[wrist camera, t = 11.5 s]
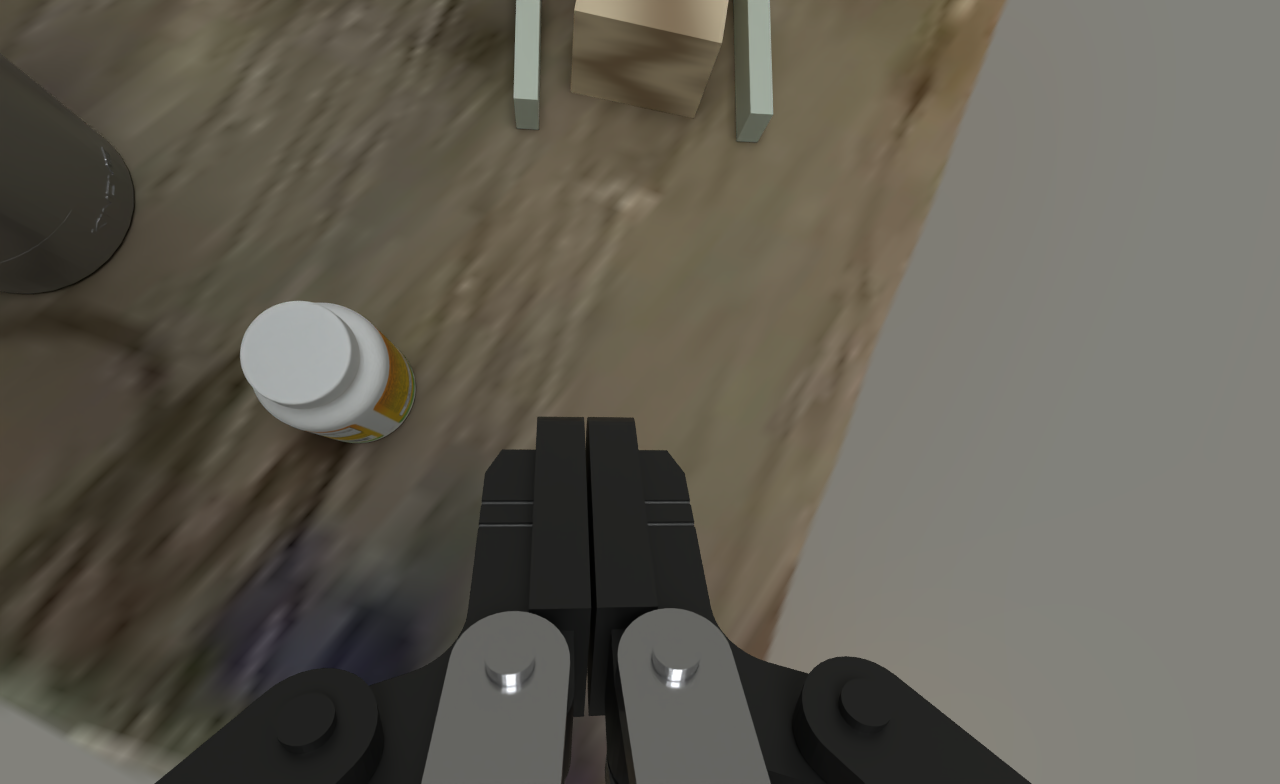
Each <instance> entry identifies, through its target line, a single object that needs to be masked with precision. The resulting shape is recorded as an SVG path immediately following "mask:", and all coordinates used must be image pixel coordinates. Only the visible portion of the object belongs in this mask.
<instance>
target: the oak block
mask: <svg viewBox="0 0 1280 784" xmlns="http://www.w3.org/2000/svg"><path fill="white" fill-rule="evenodd" d="M728 1H729V0H576V4H575V9H574V29H573V50H572V72H571V93H576V94H581V95H585V96H590V97H595V98H600V99H604V100H609V101H614V102H618V103H623V104H628V105H632V106H637V107H642V108H646V109H651V110H656V111H661V112H665V113H670V114H675V115H679V116H684V117H689V118H693V119H694V117H695V115H696V112H697V109H698V106H699V104H700V101H701V98H702V96H703V93H704V90H705V88H706V85H707V82H708V80H709V77H710V74H711V71H712V69H713V66H714V63H715V61H716V58H717V55H718V53H719V50H720V47H721V44H722V40H723V33H724V27H725V20H726V14H727V7H728Z"/></svg>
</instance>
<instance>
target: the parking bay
mask: <svg viewBox="0 0 1280 784" xmlns="http://www.w3.org/2000/svg"><path fill="white" fill-rule="evenodd" d="M541 3H542V0H516V29H515V66H514V107H515V118H516V128H519V129H536V130H539V99H540V51H541ZM733 7H734V52H735V98H736V141H743V142H758V140H759V138H760V137H761V135H762V133H763V131H764V130H765V128H766V126H767V124H768V123H769V121H770V119H771V117H772V116H773V95H772V62H771V29H770V0H733Z"/></svg>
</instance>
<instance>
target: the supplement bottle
mask: <svg viewBox="0 0 1280 784" xmlns="http://www.w3.org/2000/svg"><path fill="white" fill-rule="evenodd" d="M240 361H241V366H242V370H243V372H244V375H245V377H246V379H247V380H248V382H249V383H250V385H251V386H252V387H253V389H254V392H255V394H256V396H257V398H258V399H259V401H260V402H261V404H262V405H263V406H264V407H265V409H266V410H267V411H268V412H269V413H271V414H272V415H273V416H274V417H276V418H277V419H279V420H280V421H282V422H284V423H286V424H288V425H290V426H292V427H294V428H297V429H300V430H303V431H307V432H311V433H314V434H318V435H321V436H325V437H328V438H332V439H335V440H339V441H343V442H349V443H366V442H371V441H375V440H378V439H381V438H383V437H385V436H387V435H389V434H390V433H392V432H393V431H394V430H396V429H397V428H398V427H399V426H400V425H401V424H402V423H403V422H404V420H405V419H406V417H407V416H408V414H409V412H410V410H411V408H412V405H413V402H414V398H415V392H416V385H415V378H414V374H413V371H412V368H411V366H410V364H409V363H408V361H407V359H406V358H405V357H404V355H403V354H402V353H401V352H400V351H399V350H398V349H397V348H396V347H395V346H394V345H393V344H392V343H391V342H390V341H389V340H388V339H387V338H386V337H385V336H384V335H383V334H382V333H381V332H380V331H379V330H378V329H377V328H376V327H375V326H374V325H373V324H372V323H371V322H369V321H368V320H367V319H366V318H364V317H363V316H362V315H360V314H358V313H357V312H355V311H353V310H351V309H349V308H346V307H344V306H341V305H337V304H332V303H312V302H308V301H290V302H284V303H280V304H277V305H275V306H273V307H271V308H269V309H267V310H265V311H264V312H262V313H261V314H260V315H259V316H258V317H257V318H256V319H255V320H254V321H253V322H252V323H251V324H250V326H249V327H248V329H247V331H246V332H245V335H244V337H243V340H242V344H241V350H240Z"/></svg>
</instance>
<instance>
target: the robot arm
mask: <svg viewBox="0 0 1280 784" xmlns="http://www.w3.org/2000/svg"><path fill="white" fill-rule="evenodd" d="M133 208H134V195H133V186H132V182H131V178H130V174H129V171H128V169H127V167H126V165H125V163H124V161H123V160H122V158H121V156H120V154H119V153H118V152H117V151H116V150H115V149H114V148H113V147H112V145H111V144H110V143H109V142H108V141H107V140H106V139H104V138H103V137H102V136H101V135H100V134H98V133H97V132H96V131H95V130H93V129H92V128H91V127H90V126H88V125H87V124H86V123H85V122H84V121H82V120H81V119H80V118H79V117H77V116H76V115H75V114H74V113H72V112H71V111H70V110H69V109H68V108H66V107H65V106H64V105H63V104H61V103H60V102H59V101H58V100H57V99H56V98H55V97H53V96H52V95H51V94H50V93H48V92H47V91H46V90H45V89H44V88H42V87H41V86H40V85H39V84H37V83H36V82H35V81H34V80H32V79H31V78H30V77H29V76H28V75H26V74H25V73H24V72H23V71H21V70H20V69H19V68H18V67H17V66H15V65H14V64H13V63H12V62H10V61H9V60H8V59H7V58H5V57H4V56H3V55H2V54H1V53H0V291H3V292H7V293H22V294H34V293H40V292H47V291H53V290H56V289H59V288H62V287H65V286H68V285H71V284H74V283H76V282H77V281H79V280H81V279H83V278H84V277H86V276H88V275H90V274H92V273H93V272H94V271H95V270H97V269H98V268H99V267H100V266H101V265H102V264H104V263H105V262H106V261H107V260H108V259H109V258H110V257H111V256H112V254H113V253H114V252H115V250H116V249H117V248H118V247H119V245H120V244H121V242H122V240H123V238H124V236H125V234H126V232H127V230H128V228H129V226H130V221H131V217H132V213H133ZM587 675H588V708H589V716H600V715H605V719H606V739H607V755H606V764H605V781H606V784H1031V783H1030V782H1029V781H1027V780H1026V779H1025V778H1024V777H1023V776H1021V775H1020V774H1019V773H1017V772H1016V771H1015V770H1014V769H1013V768H1011V767H1010V766H1009V765H1007V764H1006V763H1005V762H1004V761H1002V760H1001V759H1000V758H999V757H997V756H996V755H995V754H994V753H992V752H991V751H990V750H989V749H987V748H986V747H985V746H984V745H982V744H981V743H980V742H978V741H977V740H976V739H975V738H974V737H972V736H971V735H970V734H969V733H967V732H966V731H965V730H963V729H962V728H961V727H960V726H958V725H957V724H956V723H955V722H953V721H952V720H951V719H950V718H948V717H947V716H946V715H945V714H943V713H942V712H941V711H940V710H938V709H937V708H936V707H935V706H933V705H932V704H931V703H930V702H928V701H927V700H926V699H924V698H923V697H922V696H921V695H919V694H918V693H917V692H916V691H914V690H913V689H912V688H911V687H909V686H908V685H907V684H906V683H904V682H903V681H902V680H901V679H899V678H898V677H897V676H896V675H894V674H893V673H891V672H890V671H888V670H887V669H886V668H884V667H882V666H880V665H878V664H876V663H874V662H871V661H868V660H866V659H861V658H857V657H847V656H845V657H835V658H832V659H828V660H826V661H824V662H822V663H820V664H819V665H817V666H816V667H815V668H814V669H813V670H812V671H811V672H810V673H809V674H808V673H804V672H801V671H797V670H794V669H790V668H787V667H783V666H779V665H776V664H772V663H768V662H766V661H763V660H760V659H757V658H755V657H753V656H751V655H749V654H747V653H746V652H744V651H743V650H741V649H740V648H738V647H737V646H736V645H735V644H733V643H732V642H731V641H730V640H729V639H728V638H727V637H726V636H725V634H724V633H723V632H722V631H721V629H720V628H719V626H718V625H717V623H716V621H715V618H714V616H713V613H712V610H711V606H710V601H709V596H708V591H707V585H706V580H705V575H704V570H703V565H702V560H701V555H700V550H699V544H698V539H697V534H696V529H695V527H694V519H693V514H692V509H691V505H690V498H689V493H688V488H687V483H686V478H685V473H684V472H683V471H682V469H681V468H680V467H679V465H678V464H677V463H676V462H675V460H674V459H673V458H672V456H671V455H670V454H669V453H668V451H667V450H638V443H637V435H636V427H635V421H634V418H620V417H588V418H587V429H586V448H585V428H584V417H537V437H536V450H501V452H500V453H499V455H498V456H497V457H496V459H495V460H494V462H493V463H492V464H491V466H490V467H489V468H488V470H487V471H486V473H485V479H484V487H483V495H482V506H481V511H480V519H479V528H478V535H477V543H476V551H475V559H474V567H473V575H472V583H471V591H470V599H469V608H468V614H467V619H466V622H465V625H464V627H463V630H462V631H461V633H460V635H459V636H458V638H457V640H456V641H455V642H454V643H453V644H452V646H451V647H450V648H449V649H448V650H447V651H446V652H445V653H443V654H442V655H441V656H440V657H438V658H437V659H436V660H434V661H433V662H431V663H429V664H428V665H426V666H424V667H422V668H420V669H417V670H415V671H412V672H410V673H407V674H404V675H401V676H398V677H395V678H392V679H389V680H386V681H382V682H379V683H376V684H373V685H370V686H368V685H367V684H366V683H365V682H364V681H363V680H362V679H361V678H359V677H358V676H356V675H355V674H353V673H350V672H347V671H345V670H340V669H334V668H321V669H314V670H309V671H305V672H301V673H298V674H296V675H293V676H291V677H289V678H287V679H285V680H283V681H281V682H279V683H278V684H276V685H275V686H273V687H272V688H271V689H269V690H268V691H267V692H265V693H264V694H263V695H262V696H260V697H259V698H258V699H257V700H256V701H254V702H253V703H252V704H251V705H250V706H248V707H247V708H246V709H245V710H243V711H242V712H241V713H240V714H239V715H237V716H236V717H235V718H234V719H233V720H231V721H230V722H229V723H228V724H226V725H225V726H224V727H223V728H222V729H220V730H219V731H218V732H217V733H216V734H214V735H213V736H212V737H211V738H210V739H208V740H207V741H206V742H205V743H203V744H202V745H201V746H200V747H199V748H197V749H196V750H195V751H194V752H193V753H191V754H190V755H189V756H188V757H187V758H185V759H184V760H183V761H182V762H180V763H179V764H178V765H177V766H176V767H174V768H173V769H172V770H171V771H170V772H168V773H167V774H166V775H165V776H163V777H162V778H161V779H160V780H159V781H157V782H156V783H155V784H565V779H566V777H567V774H568V771H569V767H570V761H571V745H572V727H573V717H582V716H584V706H585V691H586V677H587Z"/></svg>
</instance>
